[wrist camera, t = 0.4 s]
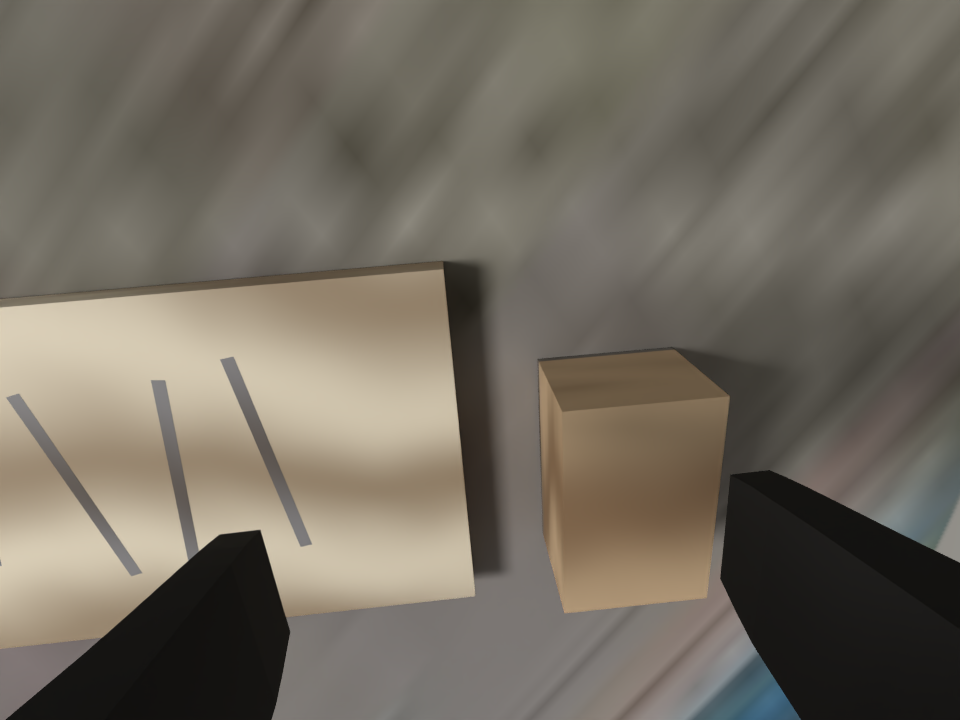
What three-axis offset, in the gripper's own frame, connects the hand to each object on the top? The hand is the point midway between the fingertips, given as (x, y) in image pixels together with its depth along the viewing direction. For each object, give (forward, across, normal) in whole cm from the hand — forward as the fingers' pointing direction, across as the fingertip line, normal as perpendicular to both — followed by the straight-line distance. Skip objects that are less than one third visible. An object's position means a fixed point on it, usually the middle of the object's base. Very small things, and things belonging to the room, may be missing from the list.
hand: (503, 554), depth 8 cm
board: (+10, +10, +3) cm, 14 cm away
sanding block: (+10, -4, +4) cm, 11 cm away
